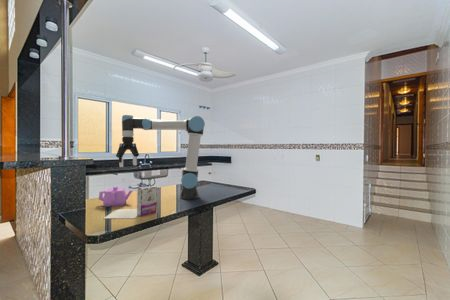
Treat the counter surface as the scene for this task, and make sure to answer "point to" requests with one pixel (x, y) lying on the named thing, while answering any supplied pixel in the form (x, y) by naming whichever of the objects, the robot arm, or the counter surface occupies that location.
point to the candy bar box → (146, 200)
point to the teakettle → (114, 196)
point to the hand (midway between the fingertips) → (128, 166)
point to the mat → (123, 214)
